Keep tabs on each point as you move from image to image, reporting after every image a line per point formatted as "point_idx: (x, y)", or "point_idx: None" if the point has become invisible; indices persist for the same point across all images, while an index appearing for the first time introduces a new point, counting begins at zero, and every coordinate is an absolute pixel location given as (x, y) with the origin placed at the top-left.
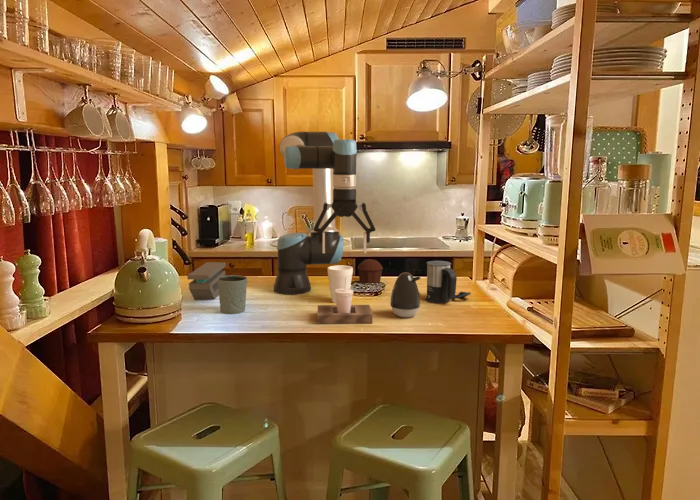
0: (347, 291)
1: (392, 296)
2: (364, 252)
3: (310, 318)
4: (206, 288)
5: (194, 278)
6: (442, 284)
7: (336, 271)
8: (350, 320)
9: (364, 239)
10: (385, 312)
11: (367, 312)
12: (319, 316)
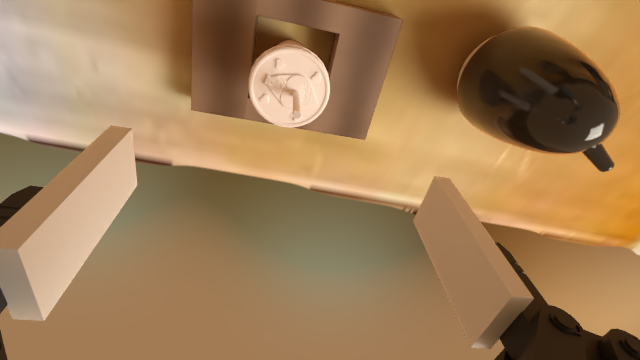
0: (301, 108)
1: (477, 97)
2: (417, 224)
3: (173, 28)
4: None
5: None
6: None
7: None
8: None
9: (451, 297)
10: (452, 21)
11: (359, 113)
12: (199, 109)
